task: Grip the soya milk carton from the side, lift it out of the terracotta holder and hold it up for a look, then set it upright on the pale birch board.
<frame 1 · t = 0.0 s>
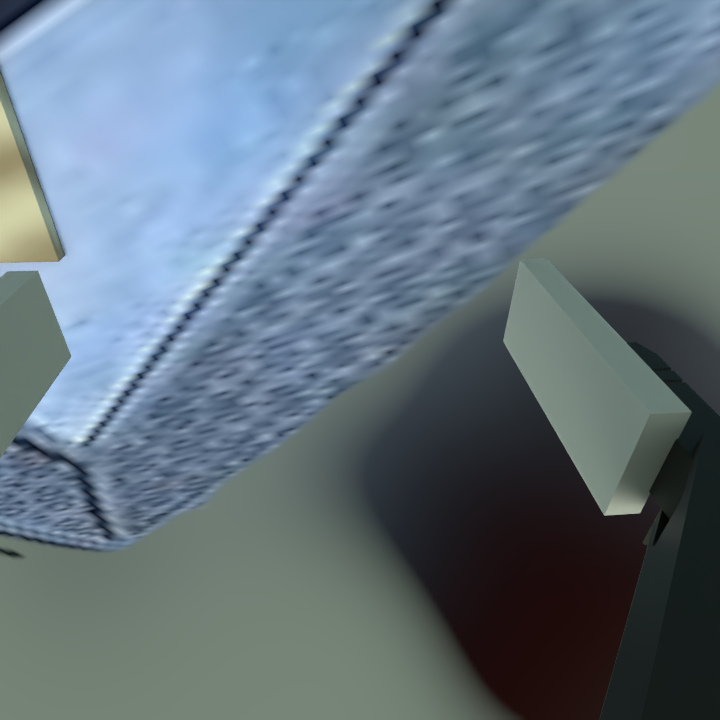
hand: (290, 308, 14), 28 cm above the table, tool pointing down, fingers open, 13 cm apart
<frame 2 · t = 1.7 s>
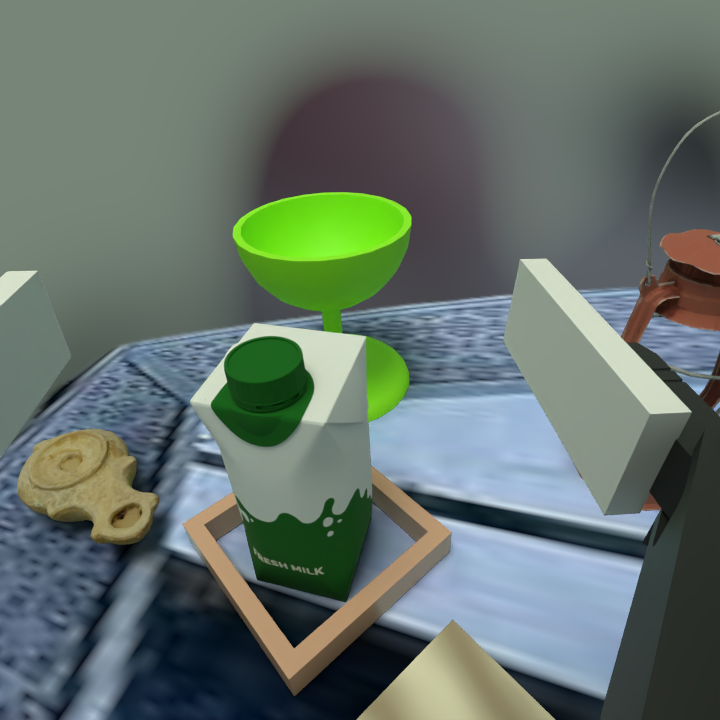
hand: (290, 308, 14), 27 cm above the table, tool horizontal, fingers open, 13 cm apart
oil lamp: (106, 505, 43), on the table
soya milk: (317, 548, 39), resting in holder
wineglass: (337, 379, 56), on the table
lantern: (624, 465, 44), on the table
holder: (317, 547, 39), on the table
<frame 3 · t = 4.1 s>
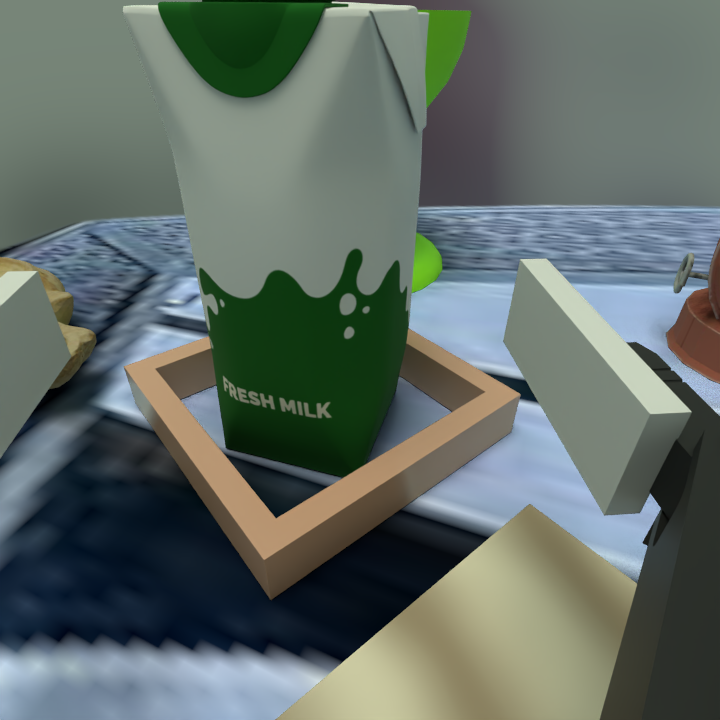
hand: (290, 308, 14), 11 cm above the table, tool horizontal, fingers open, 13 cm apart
oil lamp: (27, 361, 31), on the table
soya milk: (318, 420, 27), resting in holder
wineglass: (351, 261, 44), on the table
holder: (317, 417, 27), on the table
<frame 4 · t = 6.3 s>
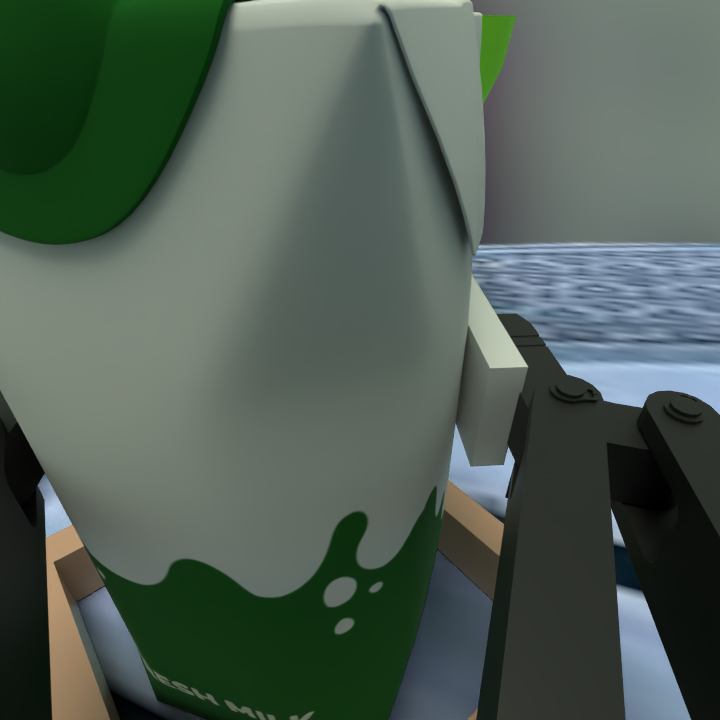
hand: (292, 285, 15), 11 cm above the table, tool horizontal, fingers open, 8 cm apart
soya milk: (303, 626, 18), resting in holder, touching gripper
wineglass: (349, 327, 35), on the table
holder: (303, 624, 18), on the table
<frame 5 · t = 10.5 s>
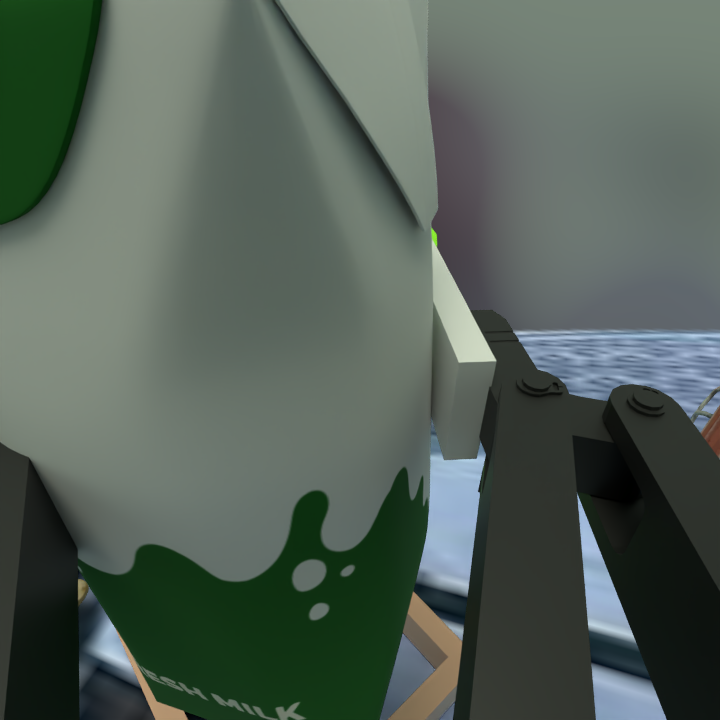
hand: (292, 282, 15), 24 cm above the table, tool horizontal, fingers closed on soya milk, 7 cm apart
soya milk: (301, 624, 18), point 13 cm above the table, touching gripper
lantern: (689, 559, 35), on the table
holder: (296, 664, 29), on the table
when the fingers open (13 cm above the table, at t = 14.5 s): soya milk drops 1 cm, resting on board.
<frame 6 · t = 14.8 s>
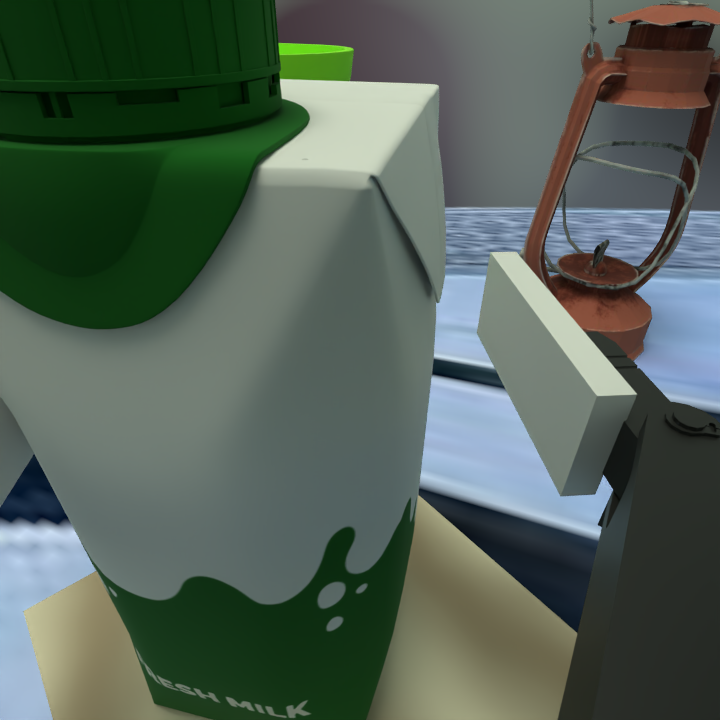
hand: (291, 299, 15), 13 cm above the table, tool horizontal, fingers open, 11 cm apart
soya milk: (288, 624, 19), point 1 cm above the table, touching board
wineglass: (275, 256, 51), on the table
lantern: (572, 332, 39), on the table
board: (312, 656, 19), on the table
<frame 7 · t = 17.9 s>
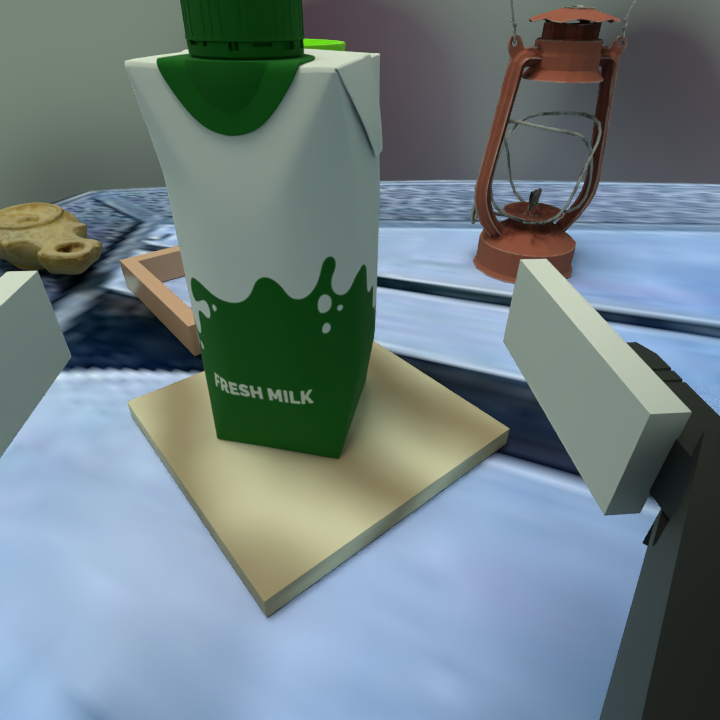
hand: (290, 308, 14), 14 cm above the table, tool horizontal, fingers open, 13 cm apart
oil lamp: (57, 268, 49), on the table
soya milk: (298, 409, 30), point 1 cm above the table, touching board
wineglass: (282, 215, 62), on the table
lantern: (517, 265, 50), on the table
holder: (236, 291, 44), on the table
board: (313, 430, 30), on the table
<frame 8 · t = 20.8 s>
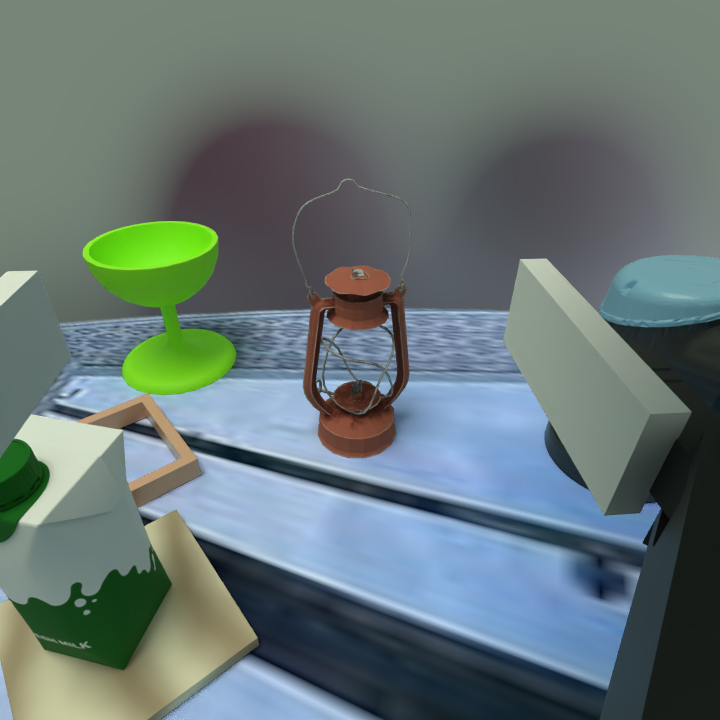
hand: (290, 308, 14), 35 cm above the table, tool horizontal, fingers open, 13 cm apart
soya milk: (113, 615, 41), point 1 cm above the table, touching board
wineglass: (181, 361, 73), on the table
lantern: (354, 429, 61), on the table
holder: (112, 467, 56), on the table
board: (124, 630, 41), on the table
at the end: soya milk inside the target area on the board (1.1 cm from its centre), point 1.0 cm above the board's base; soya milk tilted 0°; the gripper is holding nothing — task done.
